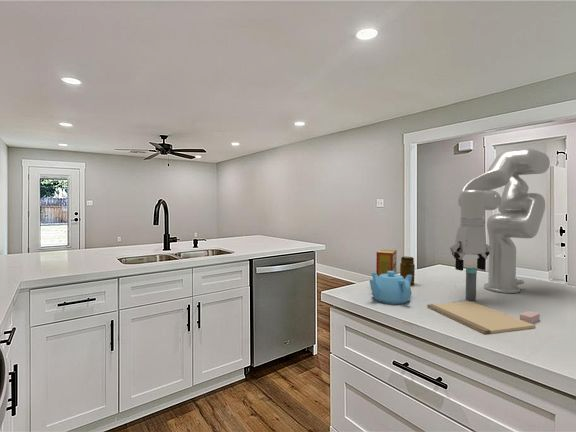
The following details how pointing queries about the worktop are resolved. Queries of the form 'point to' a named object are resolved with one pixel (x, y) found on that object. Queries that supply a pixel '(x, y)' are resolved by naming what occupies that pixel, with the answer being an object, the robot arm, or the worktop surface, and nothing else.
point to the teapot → (391, 288)
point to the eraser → (530, 317)
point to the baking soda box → (386, 261)
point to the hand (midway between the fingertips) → (470, 269)
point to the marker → (471, 284)
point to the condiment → (408, 268)
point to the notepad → (480, 317)
